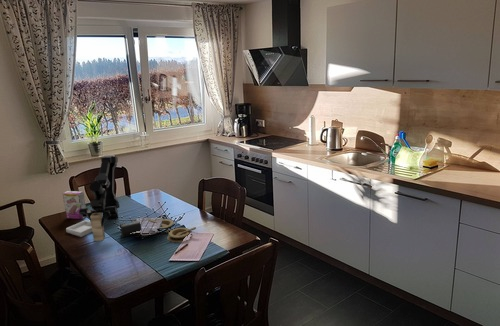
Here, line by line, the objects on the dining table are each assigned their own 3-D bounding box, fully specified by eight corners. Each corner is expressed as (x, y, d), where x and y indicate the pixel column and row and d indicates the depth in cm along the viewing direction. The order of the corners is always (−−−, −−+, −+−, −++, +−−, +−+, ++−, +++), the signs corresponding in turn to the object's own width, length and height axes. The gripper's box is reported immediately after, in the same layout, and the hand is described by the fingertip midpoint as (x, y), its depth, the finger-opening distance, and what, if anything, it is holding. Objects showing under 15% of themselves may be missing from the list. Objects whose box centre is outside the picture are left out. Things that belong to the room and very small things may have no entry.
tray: (86, 223, 221) (85, 220, 220) (100, 228, 215) (99, 224, 214) (66, 232, 210) (65, 228, 210) (81, 236, 204) (80, 232, 204)
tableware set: (142, 231, 211) (141, 221, 209) (172, 220, 224) (171, 211, 222) (171, 248, 190) (170, 237, 188) (202, 235, 203) (202, 225, 201)
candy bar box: (66, 218, 229) (61, 193, 225) (71, 215, 234) (67, 190, 230) (82, 219, 227) (78, 193, 223) (87, 216, 232) (83, 191, 228)
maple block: (96, 237, 203) (92, 213, 199) (105, 236, 204) (101, 212, 200) (94, 241, 199) (90, 216, 195) (102, 240, 199) (99, 215, 196)
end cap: (123, 239, 200) (121, 227, 198) (120, 234, 206) (118, 223, 204) (142, 234, 205) (140, 223, 203) (138, 230, 211) (137, 218, 209)
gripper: (77, 194, 198) (73, 222, 190) (113, 191, 200) (111, 219, 192) (84, 203, 208) (80, 230, 200) (118, 200, 210) (116, 227, 202)
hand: (97, 226), depth 198 cm, fingers closed on maple block, 4 cm apart
